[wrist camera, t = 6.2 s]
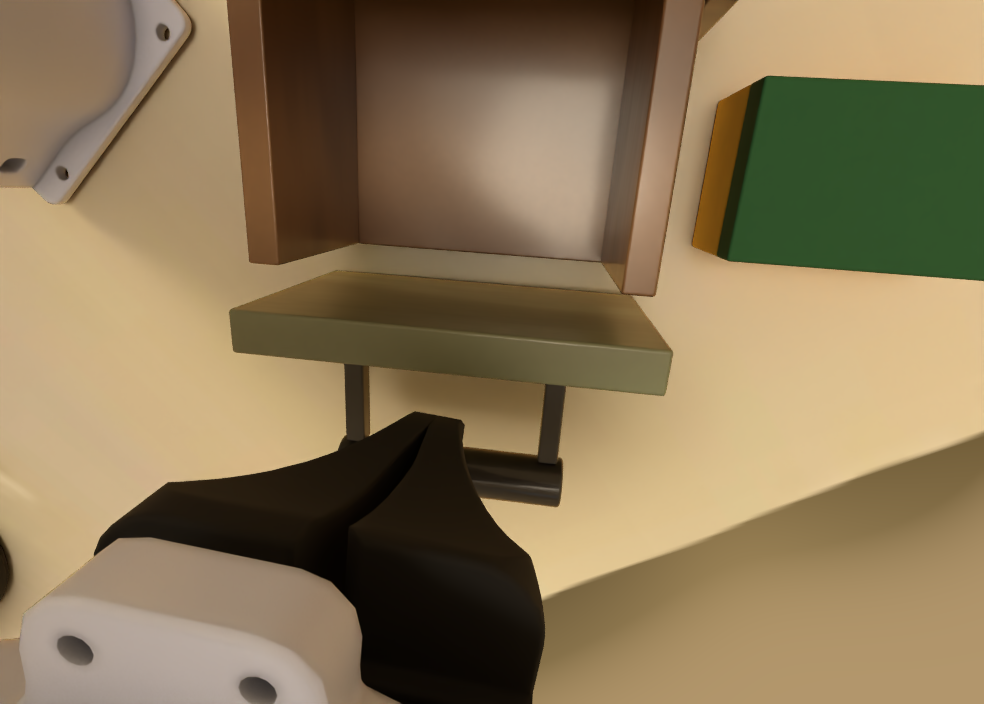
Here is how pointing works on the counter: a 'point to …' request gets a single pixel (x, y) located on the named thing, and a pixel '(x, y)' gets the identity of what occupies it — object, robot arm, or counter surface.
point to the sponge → (848, 177)
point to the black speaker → (3, 573)
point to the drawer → (464, 190)
